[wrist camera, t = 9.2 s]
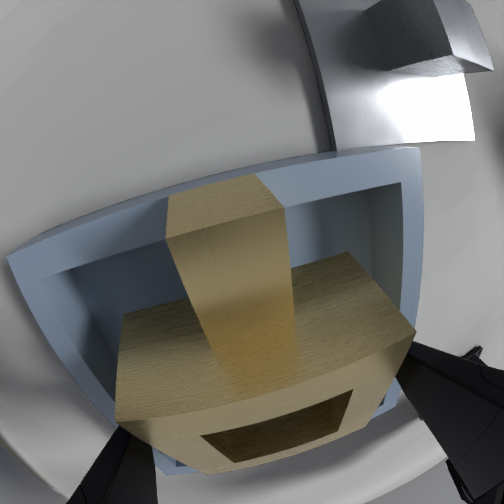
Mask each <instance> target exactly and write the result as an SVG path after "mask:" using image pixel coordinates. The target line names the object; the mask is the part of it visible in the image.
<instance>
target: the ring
mask: <svg viewBox="0 0 504 504" xmlns="http://www.w3.org/2000/svg"><path fill="white" fill-rule="evenodd" d="M166 241H167V244H168V247H169V249H170V252H171V254H172V257H173V260H174V262H175V265H176V267H177V270H178V272H179V275H180V277H181V280H182V282H183V285H184V287H185V289H186V292H187V294H188V297H187V298H183V299H179V300H175V301H171V302H168V303H164V304H160V305H156V306H152V307H148V308H144V309H140V310H136V311H132V312H128V313H124V314H123V320H122V328H121V336H120V345H119V354H118V365H117V379H116V397H115V422H116V423H117V424H118V425H120V426H121V427H123V428H124V429H126V430H127V431H129V432H130V433H132V434H133V435H135V436H136V437H138V438H139V439H141V440H143V441H144V442H146V443H147V444H149V445H151V446H152V447H154V448H156V449H158V450H159V451H161V452H163V453H165V454H166V455H168V456H170V457H172V458H174V459H176V460H178V461H180V462H181V463H183V464H185V465H187V466H189V467H192V468H194V469H196V470H198V471H200V472H202V473H204V474H207V475H211V474H217V473H223V472H229V471H234V470H239V469H243V468H248V467H252V466H257V465H261V464H265V463H268V462H272V461H276V460H279V459H283V458H286V457H289V456H292V455H296V454H299V453H302V452H305V451H308V450H310V449H313V448H316V447H319V446H321V445H324V444H327V443H329V442H332V441H334V440H337V439H339V438H341V437H344V436H346V435H348V434H351V433H353V432H355V431H357V430H359V429H361V428H364V427H366V425H367V424H368V422H369V420H370V419H371V417H372V416H373V414H374V413H375V411H376V409H377V408H378V406H379V404H380V403H381V401H382V399H383V398H384V396H385V394H386V392H387V391H388V389H389V387H390V385H391V383H392V382H393V380H394V378H395V376H396V374H397V372H398V370H399V368H400V366H401V364H402V362H403V360H404V358H405V356H406V354H407V352H408V350H409V348H410V346H411V343H412V341H413V339H414V337H415V334H416V332H417V331H416V330H415V329H414V328H413V326H412V325H411V324H410V323H409V321H408V320H407V319H406V318H405V316H404V315H403V314H402V313H401V312H400V310H399V309H398V308H397V307H396V306H395V304H394V303H393V302H392V301H391V300H390V298H389V297H388V296H387V295H386V294H385V292H384V291H383V290H382V289H381V288H380V287H379V285H378V284H377V283H376V282H375V281H374V280H373V279H372V277H371V276H370V275H369V274H368V273H367V272H366V271H365V270H364V268H363V267H362V266H361V265H360V264H359V263H358V262H357V261H356V260H355V258H354V257H353V256H352V255H351V254H350V253H349V252H348V251H346V252H343V253H340V254H337V255H333V256H330V257H327V258H324V259H320V260H317V261H314V262H310V263H307V264H304V265H300V266H297V267H294V268H291V267H290V257H289V247H288V237H287V228H286V219H285V210H284V206H283V205H282V204H281V203H280V202H279V201H278V199H277V198H276V197H275V196H274V195H273V194H272V193H271V191H270V190H269V189H268V188H267V187H266V186H265V185H264V183H263V182H262V181H261V180H260V179H259V178H258V177H257V176H256V174H255V173H253V174H249V175H245V176H240V177H236V178H232V179H228V180H224V181H220V182H216V183H212V184H208V185H205V186H201V187H197V188H194V189H190V190H186V191H183V192H179V193H176V194H172V195H169V201H168V212H167V225H166Z"/></svg>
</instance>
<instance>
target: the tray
mask: <svg viewBox="0 0 504 504" xmlns="http://www.w3.org/2000/svg"><path fill="white" fill-rule="evenodd" d="M253 173H255V174H256V176H257V177H258V178H259V179H260V180H261V181H262V182H263V183H264V185H265V186H266V187H267V188H268V189H269V190H270V191H271V193H272V194H273V195H274V196H275V197H276V198H277V199H278V201H279V202H280V203H281V204H282V205H283V206H284V210H285V219H286V228H287V237H288V247H289V257H290V267H291V268H294V267H297V266H300V265H304V264H307V263H310V262H314V261H317V260H320V259H324V258H327V257H330V256H333V255H337V254H340V253H343V252H346V251H348V252H349V253H350V254H351V255H352V256H353V257H354V258H355V260H356V261H357V262H358V263H359V264H360V265H361V266H362V267H363V268H364V270H365V271H366V272H367V273H368V274H369V275H370V276H371V277H372V279H373V280H374V281H375V282H376V283H377V284H378V285H379V287H380V288H381V289H382V290H383V291H384V292H385V294H386V295H387V296H388V297H389V298H390V300H391V301H392V302H393V303H394V304H395V306H396V307H397V308H398V309H399V310H400V312H401V313H402V314H403V315H404V316H405V318H406V319H407V320H408V321H409V323H410V324H411V325H412V326H413V328H415V322H416V316H417V309H418V301H419V293H420V284H421V273H422V258H423V234H424V206H423V181H422V168H421V157H420V148H419V147H407V146H386V145H380V146H371V147H363V148H355V149H348V150H341V151H328V152H322V153H316V154H310V155H304V156H298V157H293V158H287V159H282V160H277V161H272V162H267V163H262V164H258V165H253V166H249V167H244V168H240V169H236V170H231V171H227V172H223V173H219V174H215V175H211V176H207V177H203V178H200V179H196V180H192V181H189V182H185V183H181V184H178V185H174V186H171V187H168V188H164V189H161V190H158V191H154V192H151V193H148V194H145V195H142V196H139V197H135V198H132V199H129V200H126V201H123V202H121V203H118V204H115V205H112V206H109V207H106V208H103V209H101V210H98V211H95V212H93V213H90V214H87V215H85V216H82V217H79V218H77V219H74V220H72V221H69V222H67V223H64V224H62V225H59V226H57V227H55V228H52V229H50V230H48V231H45V232H43V233H41V234H39V235H38V236H36V237H35V238H33V239H32V240H30V241H28V242H27V243H25V244H24V245H22V246H21V247H19V248H18V249H16V250H15V251H14V252H12V253H11V254H9V255H8V256H6V258H7V260H8V263H9V265H10V268H11V270H12V272H13V275H14V277H15V279H16V282H17V284H18V286H19V288H20V290H21V292H22V294H23V297H24V299H25V301H26V303H27V305H28V306H29V308H30V310H31V312H32V314H33V316H34V318H35V320H36V321H37V323H38V325H39V327H40V328H41V330H42V332H43V334H44V335H45V337H46V339H47V340H48V342H49V343H50V345H51V347H52V348H53V350H54V351H55V353H56V354H57V356H58V357H59V359H60V360H61V362H62V363H63V365H64V366H65V368H66V369H67V370H68V372H69V373H70V375H71V376H72V377H73V379H74V380H75V381H76V383H77V384H78V385H79V387H80V388H81V389H82V390H83V392H84V393H85V394H86V395H87V397H88V398H89V399H90V400H91V401H92V403H93V404H94V405H95V406H96V407H97V409H98V410H99V411H100V412H101V413H102V414H103V415H104V416H105V418H106V419H107V420H108V421H109V422H110V423H111V424H112V425H113V426H114V427H115V428H116V429H117V427H118V426H119V425H118V424H117V423H116V422H115V397H116V379H117V365H118V354H119V345H120V336H121V328H122V320H123V314H124V313H128V312H132V311H136V310H140V309H144V308H148V307H152V306H156V305H160V304H164V303H168V302H171V301H175V300H179V299H183V298H187V297H188V294H187V292H186V289H185V287H184V285H183V282H182V280H181V277H180V275H179V272H178V270H177V267H176V265H175V262H174V260H173V257H172V254H171V252H170V249H169V247H168V244H167V241H166V225H167V212H168V201H169V195H172V194H176V193H179V192H183V191H186V190H190V189H194V188H197V187H201V186H205V185H208V184H212V183H216V182H220V181H224V180H228V179H232V178H236V177H240V176H245V175H249V174H253ZM400 390H401V387H400V385H399V383H398V381H397V379H396V378H394V380H393V382H392V383H391V385H390V387H389V389H388V391H387V392H386V394H385V396H384V398H383V399H382V401H381V403H380V404H379V406H378V408H377V409H376V411H375V413H374V414H373V416H372V417H371V419H373V418H375V417H377V416H379V415H381V414H382V413H384V412H386V411H388V410H390V409H392V408H394V407H395V406H396V404H397V401H398V397H399V394H400ZM371 419H370V420H371ZM152 450H153V456H154V463H155V466H156V467H157V468H159V469H160V470H161V471H162V472H163V473H165V474H166V475H175V474H186V473H194V472H200V471H198V470H196V469H194V468H192V467H189V466H187V465H185V464H183V463H181V462H180V461H178V460H176V459H174V458H172V457H170V456H168V455H166V454H165V453H163V452H161V451H159V450H158V449H156V448H154V447H152Z"/></svg>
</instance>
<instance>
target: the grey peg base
mask: <svg viewBox="0 0 504 504" xmlns="http://www.w3.org/2000/svg"><path fill="white" fill-rule="evenodd" d="M294 3H295V6H296V9H297V12H298V15H299V18H300V21H301V24H302V27H303V30H304V34H305V37H306V40H307V44H308V47H309V51H310V54H311V58H312V62H313V65H314V69H315V73H316V77H317V81H318V85H319V89H320V94H321V98H322V103H323V107H324V112H325V117H326V122H327V127H328V132H329V137H330V143H331V148H332V151H341V150H348V149H355V148H363V147H371V146H380V145H390V144H401V143H413V142H427V141H447V140H474V131H473V123H472V116H471V110H470V104H469V99H468V94H467V89H466V84H465V80H464V76H463V74H465V73H474V72H486V71H494V68H493V65H492V61H491V58H490V54H489V51H488V48H487V45H486V42H485V39H484V36H483V33H482V31H481V28H480V25H479V23H478V20H477V18H476V16H475V13H474V11H473V9H472V6H471V4H470V3H468V2H467V1H465V0H294Z"/></svg>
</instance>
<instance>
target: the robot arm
mask: <svg viewBox="0 0 504 504" xmlns="http://www.w3.org/2000/svg"><path fill="white" fill-rule="evenodd" d="M482 350H483V348H482V347H481V346H478V347H477V348H476V349H474V350H473V351H472V352H471V353H469V354H468V355H467V356H466V357H464V358H461V357H458V356H455V355H452V354H449V353H446V352H443V351H440V350H437V349H434V348H432V347H429V346H426V345H423V344H420V343H417V342H414V341H412V343H411V346H410V348H409V350H408V352H407V354H406V356H405V358H404V360H403V362H402V364H401V366H400V368H399V370H398V372H397V374H396V376H395V378H396V379H397V381H398V383H399V385H400V387H401V388H402V390H403V392H404V393H405V395H406V396H407V398H408V399H409V400H410V402H411V403H412V405H413V406H414V408H415V409H416V410H417V412H418V413H419V415H420V416H419V418H420V420H421V421H422V420H424V422H425V423H426V425H427V426H428V428H429V429H430V431H431V432H432V434H433V435H434V436H435V438H436V439H437V441H438V442H439V444H440V445H441V447H442V448H443V450H444V451H445V453H446V454H447V456H448V459H447V460H446V464H447V466H448V470H449V472H450V474H451V476H452V479H453V481H454V483H455V485H456V487H457V490H458V492H459V494H460V497H461V499H462V500H464V501H465V502H466V503H467V504H504V370H500V369H496V368H492V367H489V366H487V365H486V364H485V363H484V362H483V361H482V360H481V359H479V357H480V355H481V352H482ZM66 504H158V499H157V487H156V472H155V463H154V456H153V450H152V446H151V445H149V444H147V443H146V442H144V441H143V440H141V439H139V438H138V437H136V436H135V435H133V434H132V433H130V432H129V431H127V430H126V429H124V428H123V427H121V426H120V425H119V426H118V427H117V429H116V430H115V432H114V433H113V435H112V436H111V438H110V439H109V441H108V442H107V444H106V445H105V447H104V448H103V450H102V451H101V453H100V454H99V456H98V457H97V459H96V460H95V462H94V463H93V465H92V466H91V468H90V469H89V471H88V472H87V474H86V475H85V477H84V478H83V480H82V481H81V484H80V485H79V486H78V487H77V489H76V490H75V492H74V493H73V495H72V496H71V498H70V499H69V500H68V502H67V503H66Z"/></svg>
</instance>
